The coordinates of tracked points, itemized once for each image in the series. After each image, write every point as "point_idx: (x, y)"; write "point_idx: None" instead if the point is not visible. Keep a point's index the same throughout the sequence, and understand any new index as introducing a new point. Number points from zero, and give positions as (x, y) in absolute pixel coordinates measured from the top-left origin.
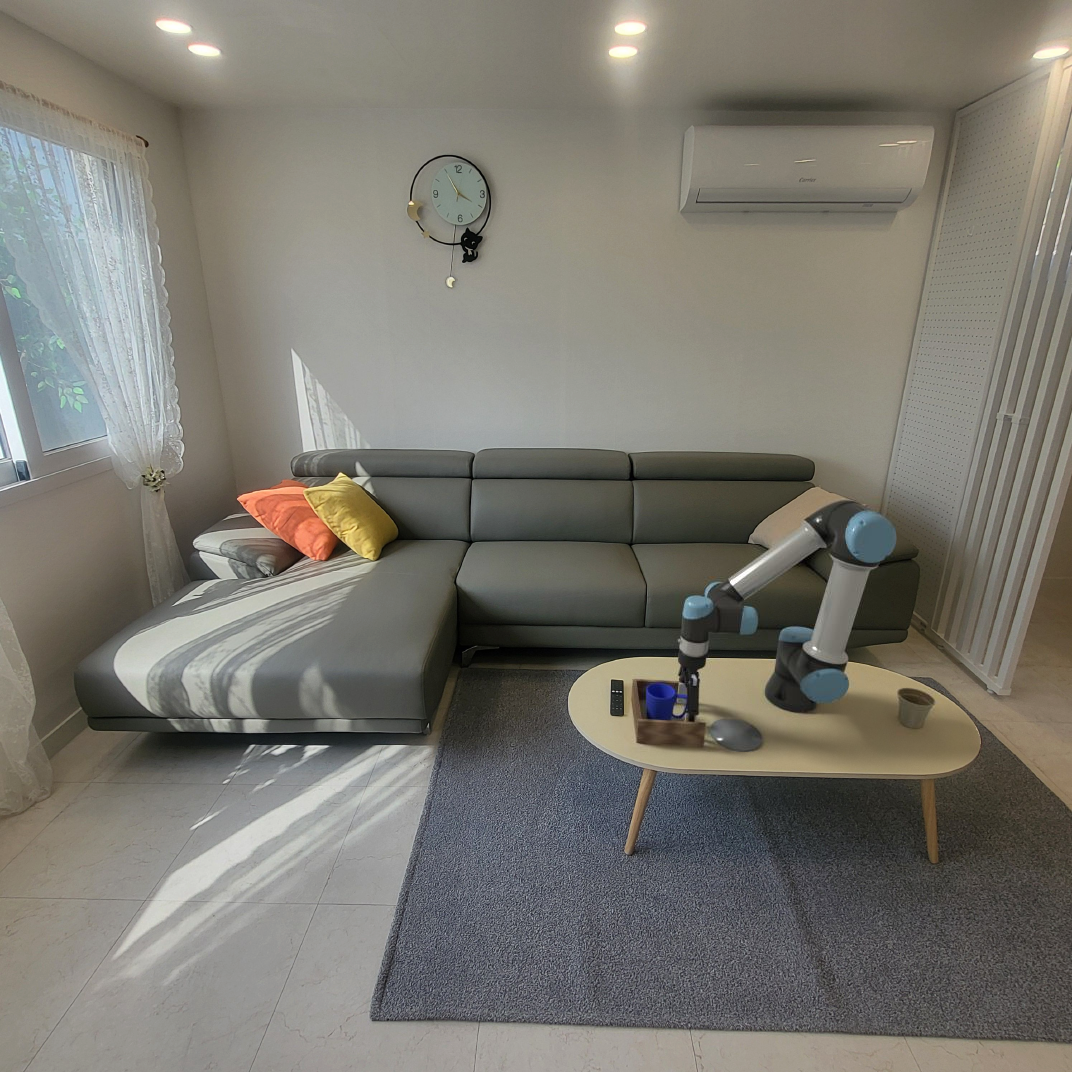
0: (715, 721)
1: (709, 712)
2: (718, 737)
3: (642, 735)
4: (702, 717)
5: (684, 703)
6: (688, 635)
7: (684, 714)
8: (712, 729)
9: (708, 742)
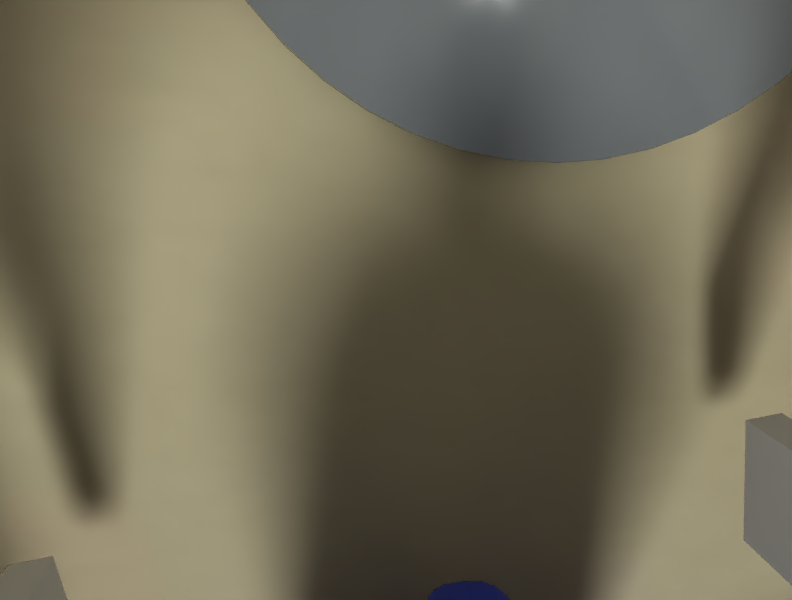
0: (320, 63)
1: (30, 144)
2: (722, 48)
3: None
4: (216, 259)
5: (60, 583)
6: None
7: None
8: (547, 128)
9: (772, 191)
